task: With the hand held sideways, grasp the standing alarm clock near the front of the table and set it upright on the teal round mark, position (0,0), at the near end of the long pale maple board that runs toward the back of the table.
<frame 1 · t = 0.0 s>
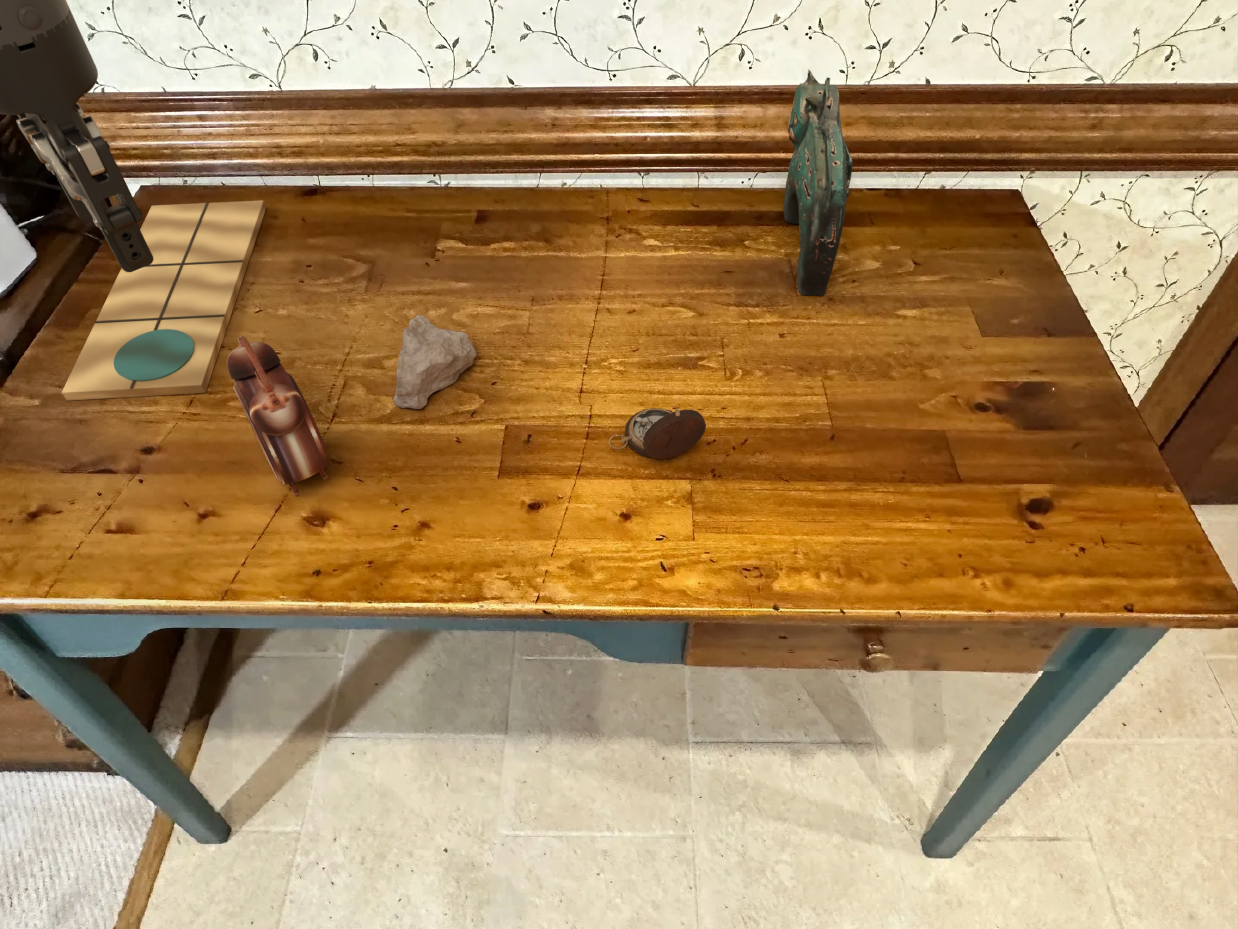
hand: (116, 240, 66), 25 cm above the table, tool pointing down, fingers open, 8 cm apart
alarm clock: (301, 469, 84), on the table
compass: (650, 446, 86), on the table
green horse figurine: (805, 250, 107), on the table
board: (177, 293, 102), on the table
stone: (430, 381, 92), on the table
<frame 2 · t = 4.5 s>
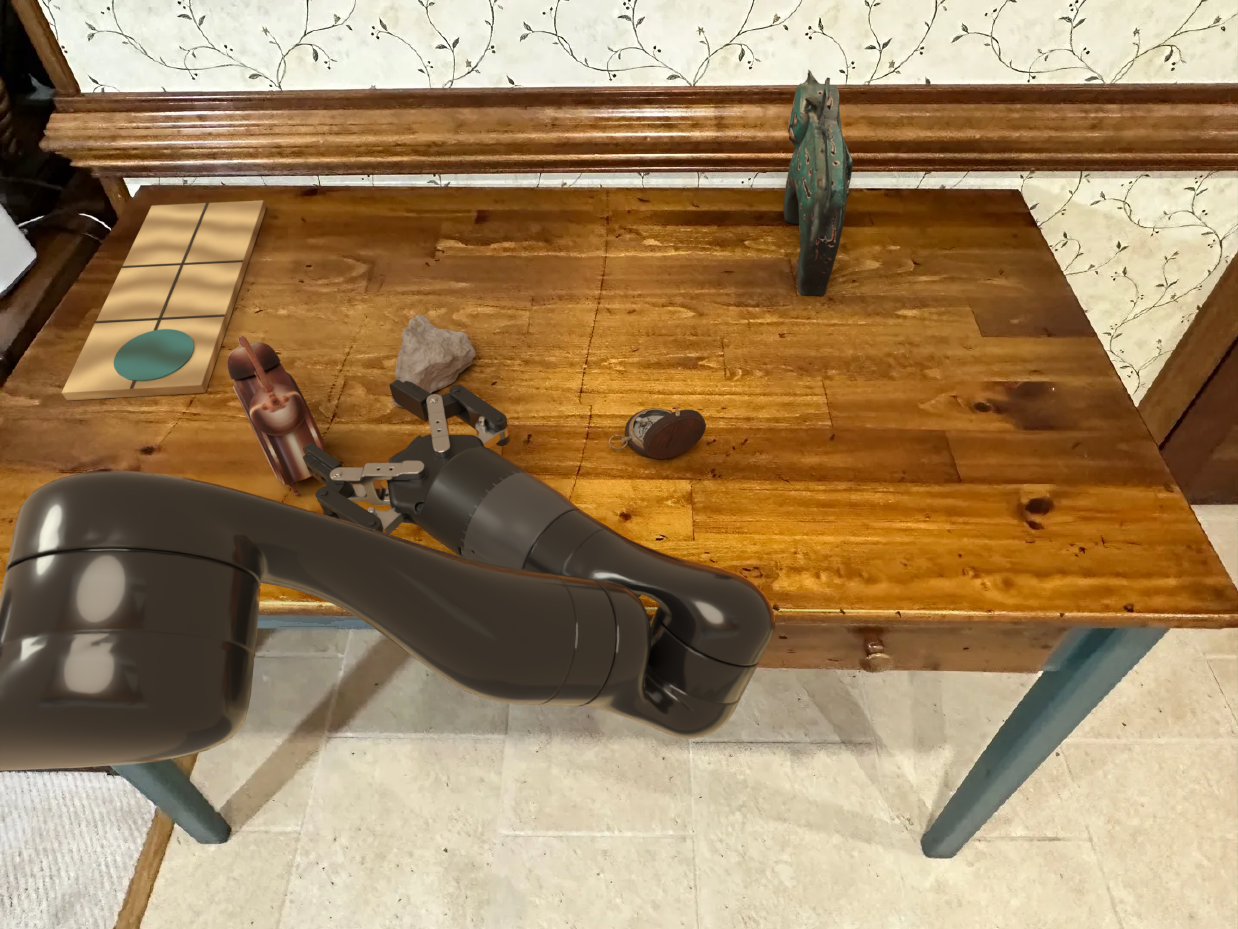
hand: (352, 420, 68), 14 cm above the table, tool horizontal, fingers open, 8 cm apart
nothing on the table moved.
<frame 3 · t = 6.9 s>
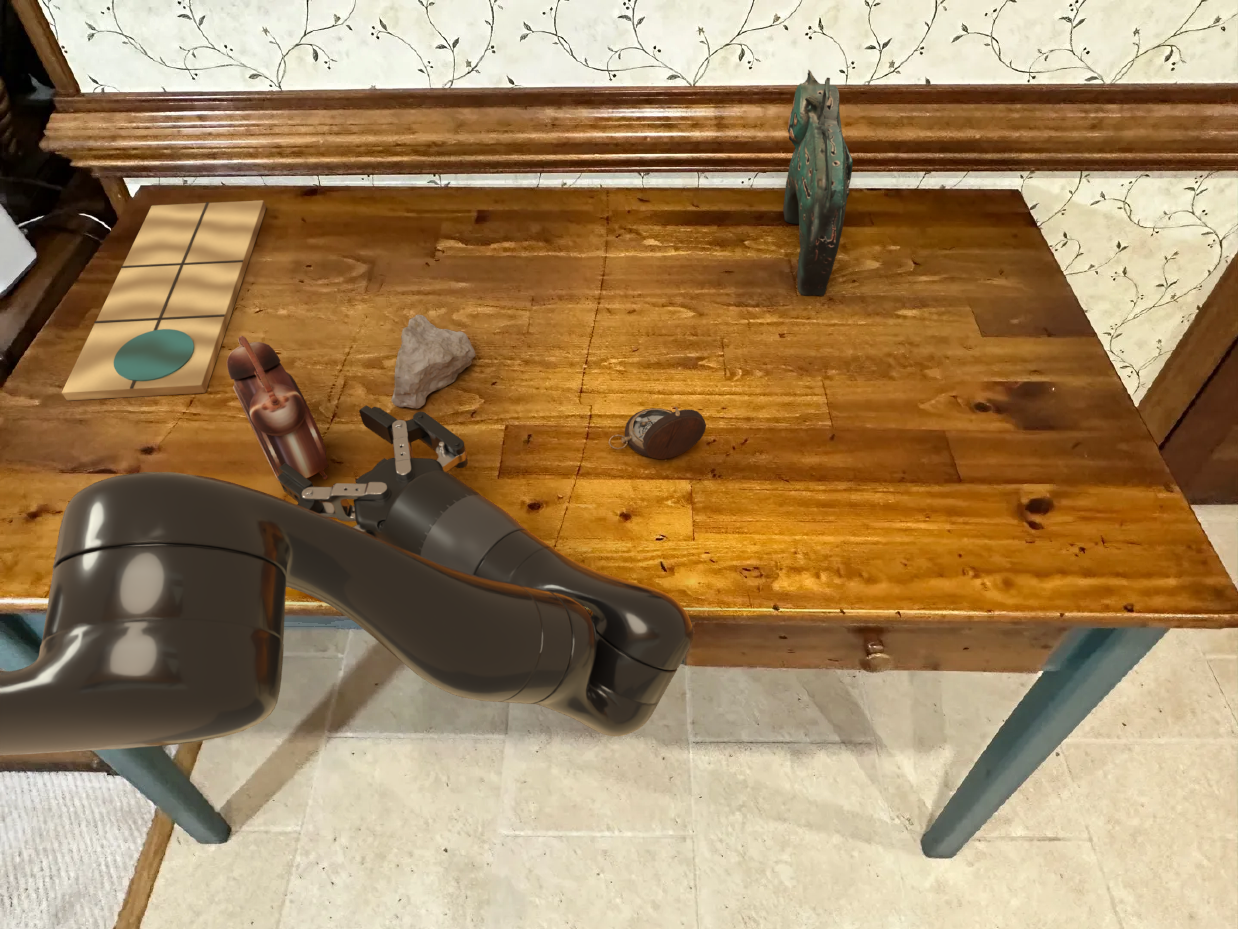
hand: (324, 442, 75), 8 cm above the table, tool horizontal, fingers open, 8 cm apart
nothing on the table moved.
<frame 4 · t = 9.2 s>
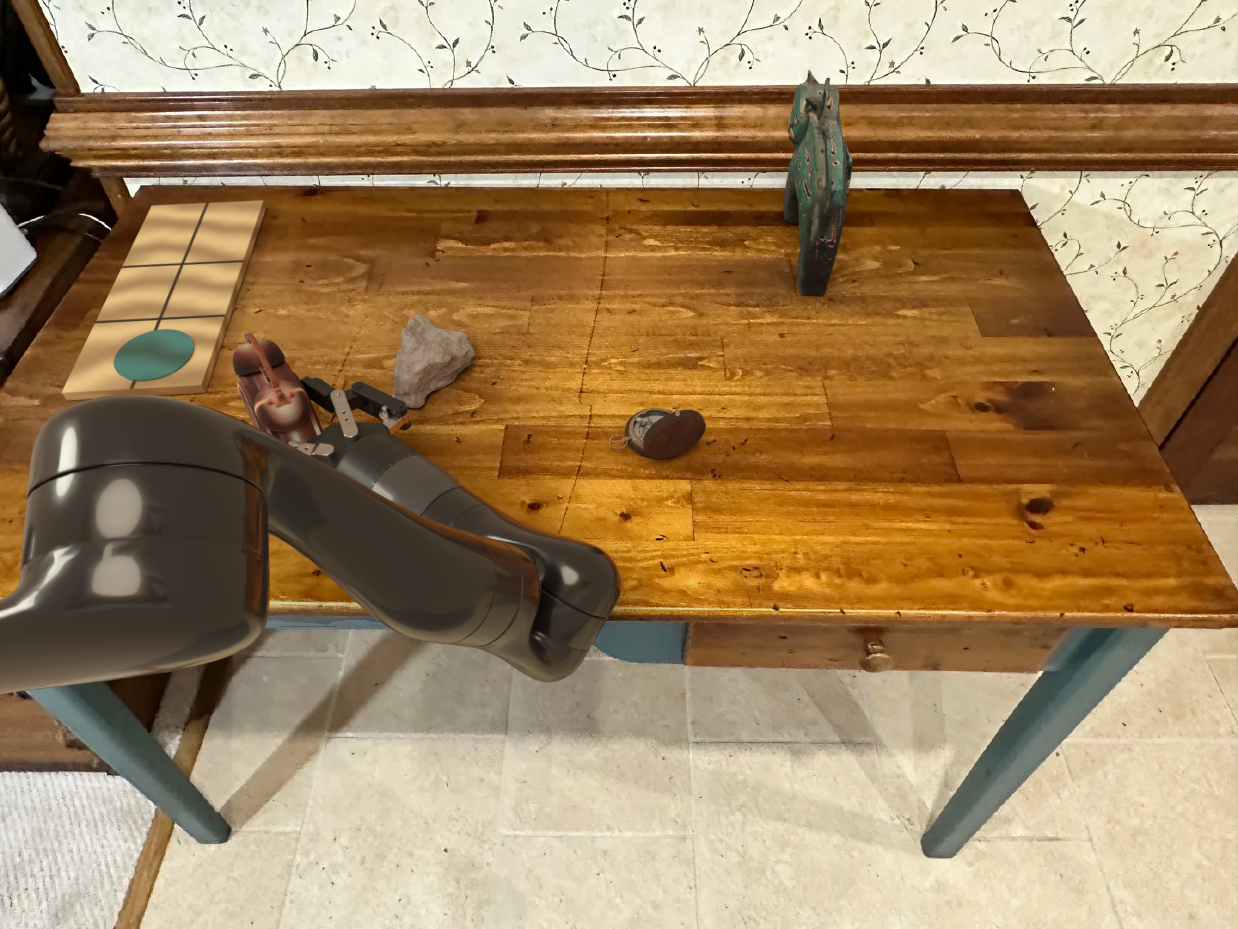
hand: (273, 406, 77), 9 cm above the table, tool horizontal, fingers closed on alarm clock, 6 cm apart
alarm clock: (301, 468, 84), on the table, touching gripper
everything else where it was.
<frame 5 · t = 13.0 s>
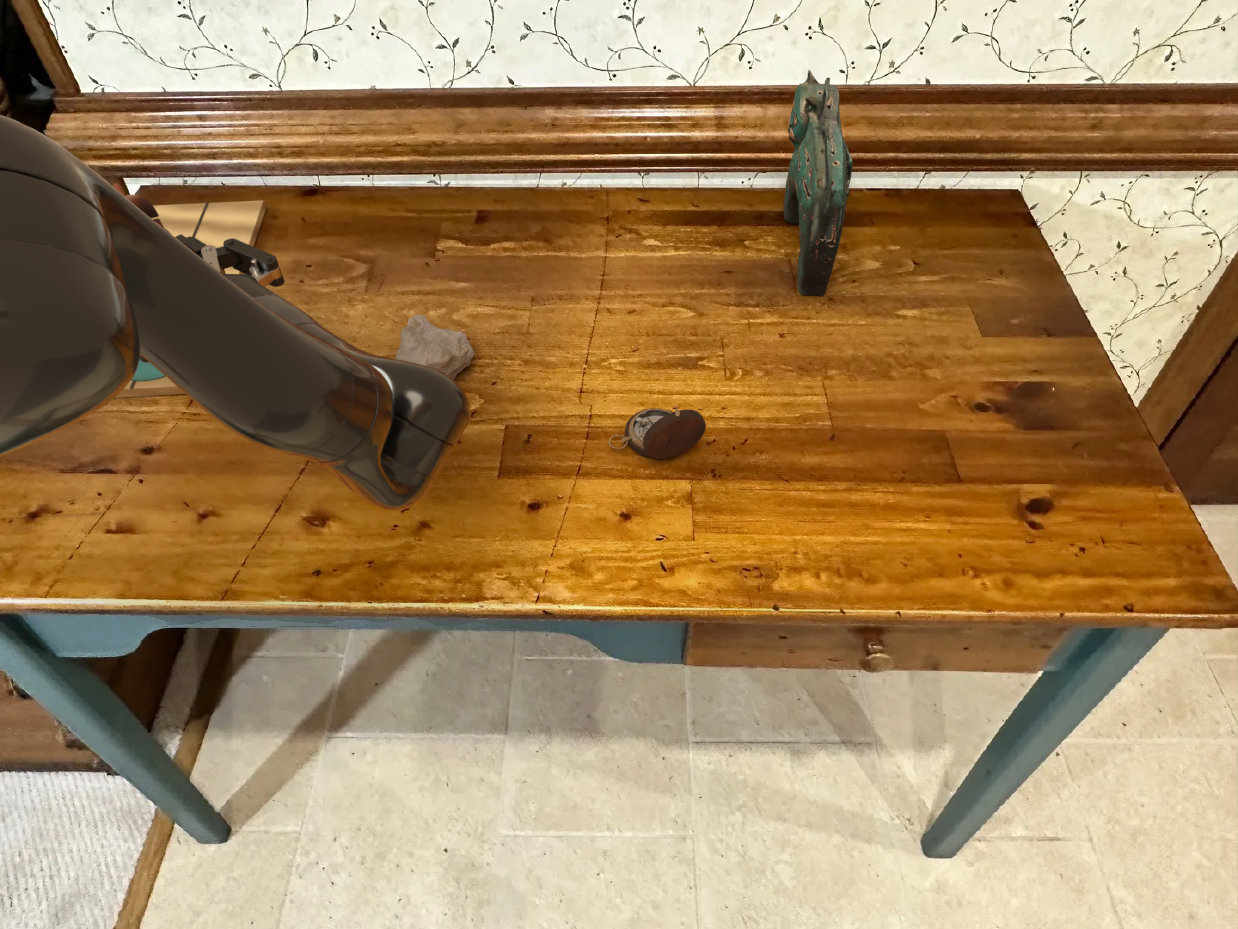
hand: (145, 263, 76), 18 cm above the table, tool horizontal, fingers closed on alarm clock, 6 cm apart
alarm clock: (184, 338, 83), point 9 cm above the table, touching gripper
everything else where it was.
when the fingers open (10 cm above the table, at t = 17.0 s): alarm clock stays where it is, resting on board.
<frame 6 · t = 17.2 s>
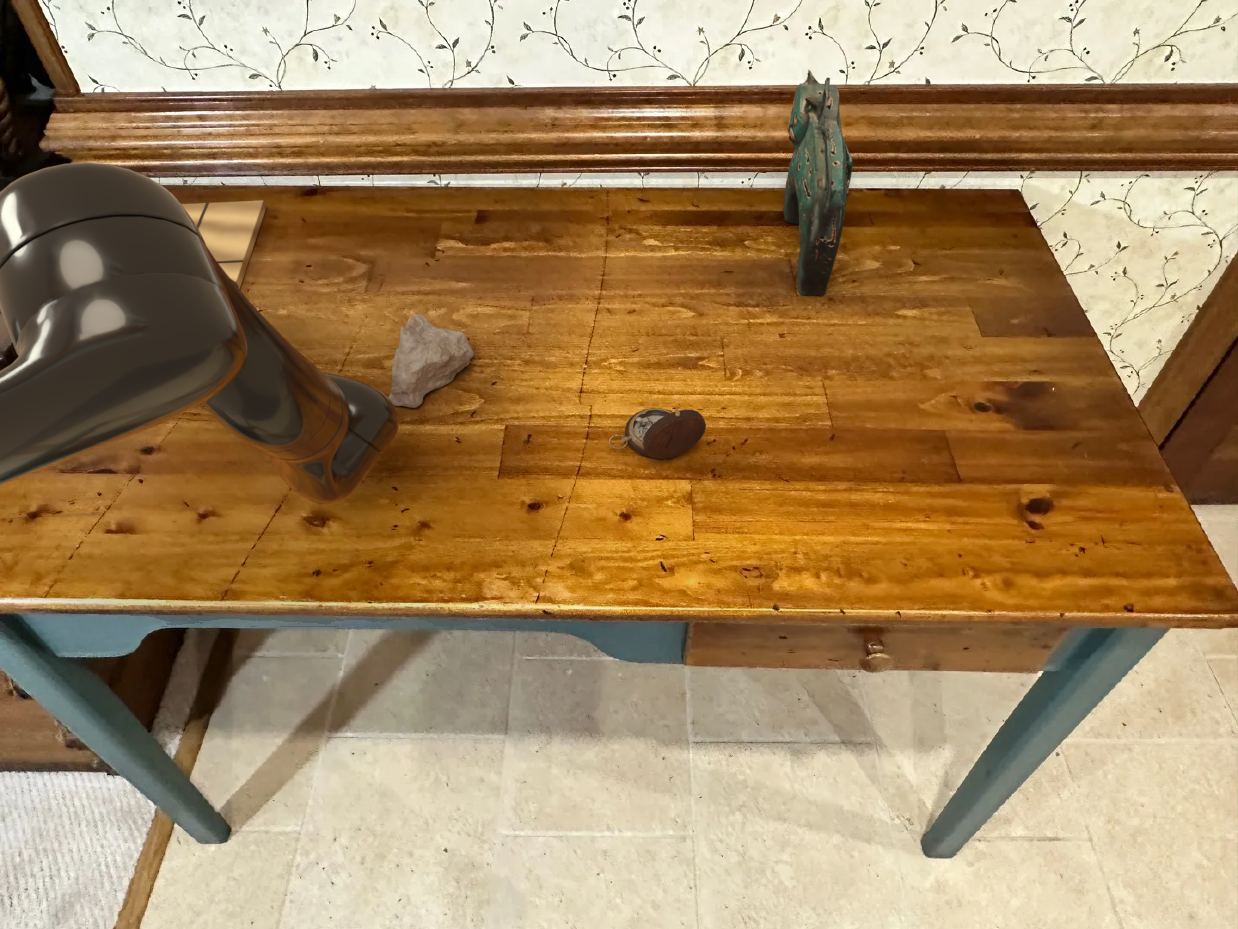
hand: (119, 287, 86), 10 cm above the table, tool horizontal, fingers open, 8 cm apart
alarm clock: (157, 354, 93), point 1 cm above the table, touching board
everything else where it was.
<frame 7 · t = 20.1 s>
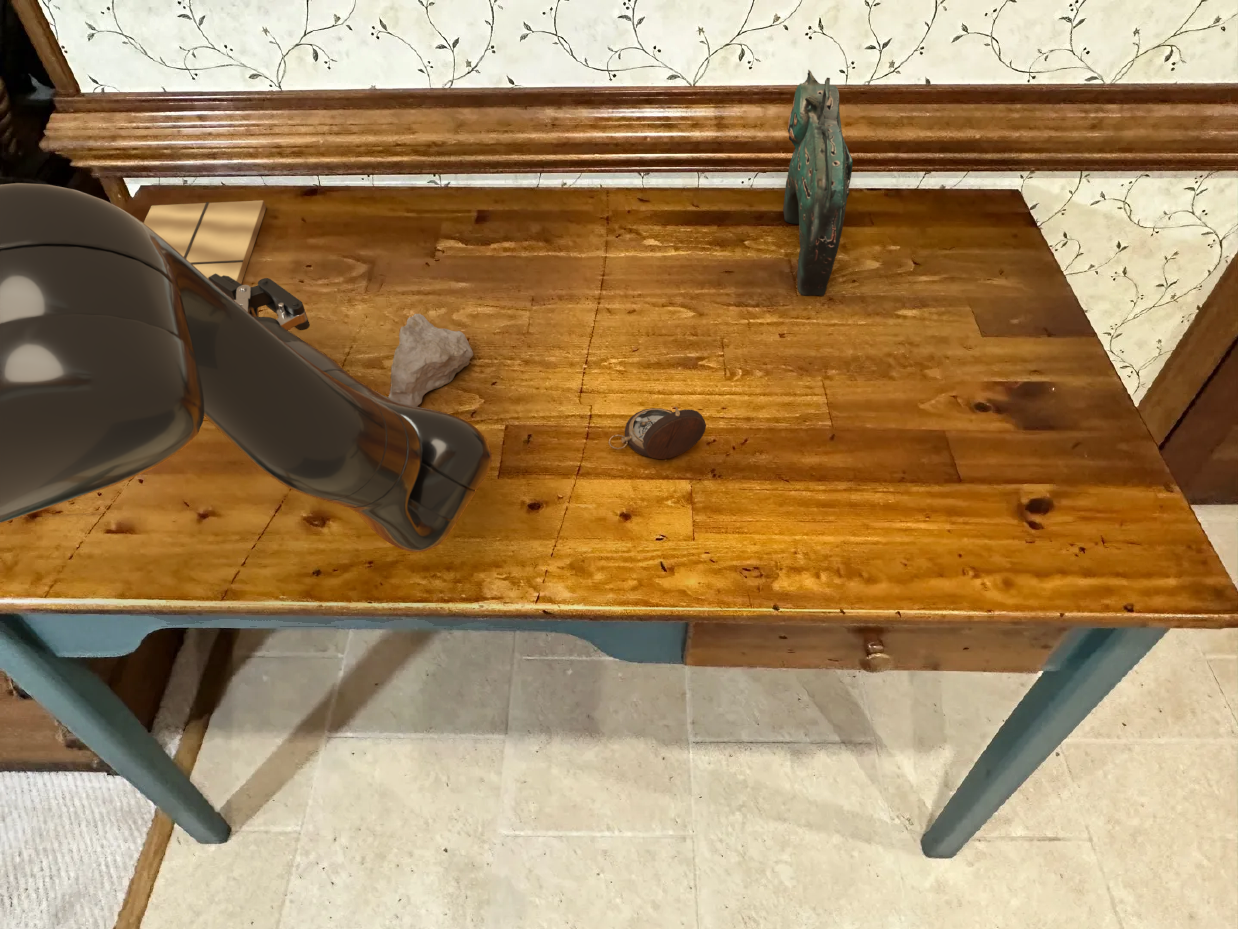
hand: (173, 306, 78), 14 cm above the table, tool horizontal, fingers open, 8 cm apart
nothing on the table moved.
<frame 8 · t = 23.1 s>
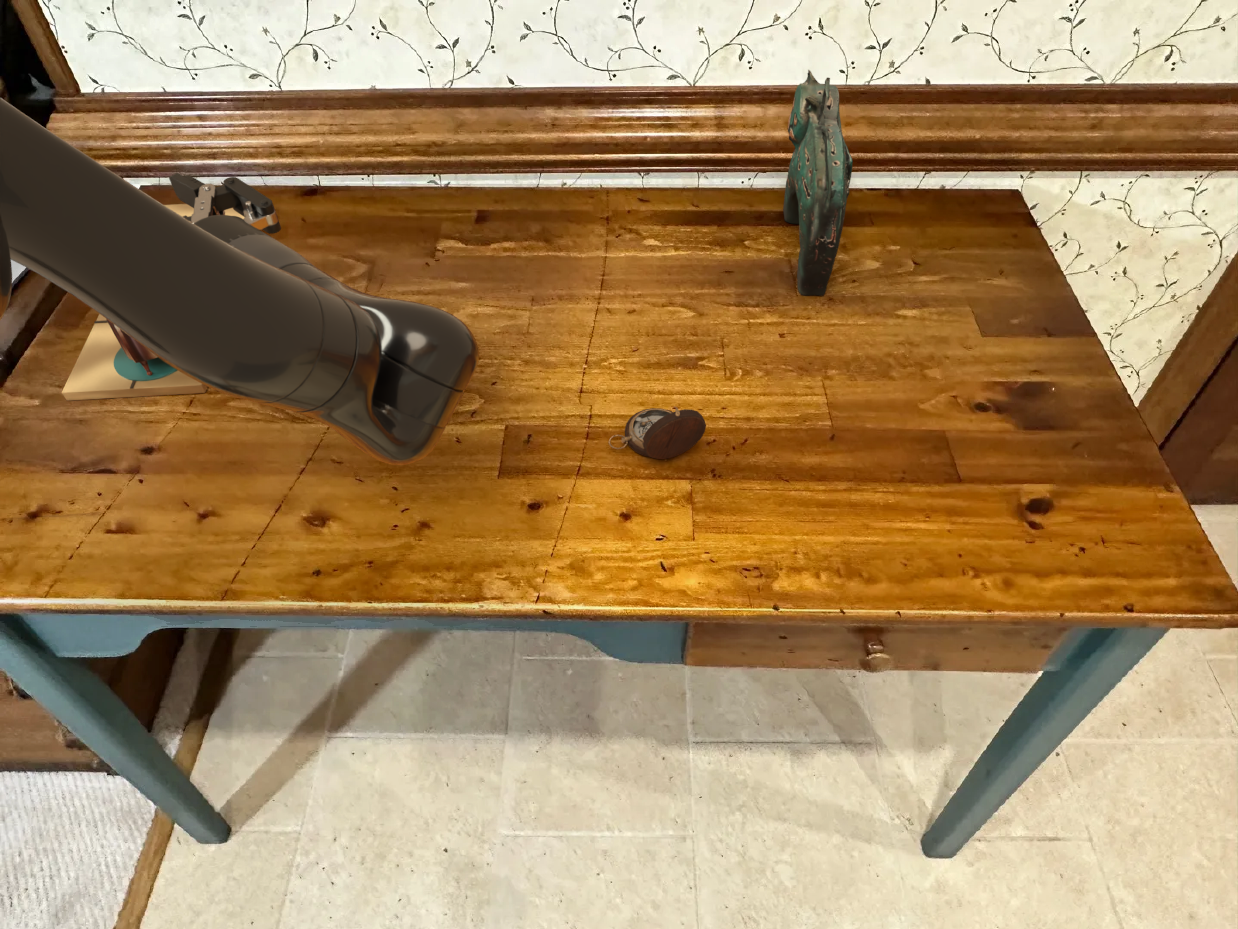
hand: (129, 207, 70), 24 cm above the table, tool horizontal, fingers open, 8 cm apart
nothing on the table moved.
at the end: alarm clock inside the target area on the board (0.3 cm from its centre), point 1.2 cm above the board's base; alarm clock tilted 0°; the gripper is holding nothing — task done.
